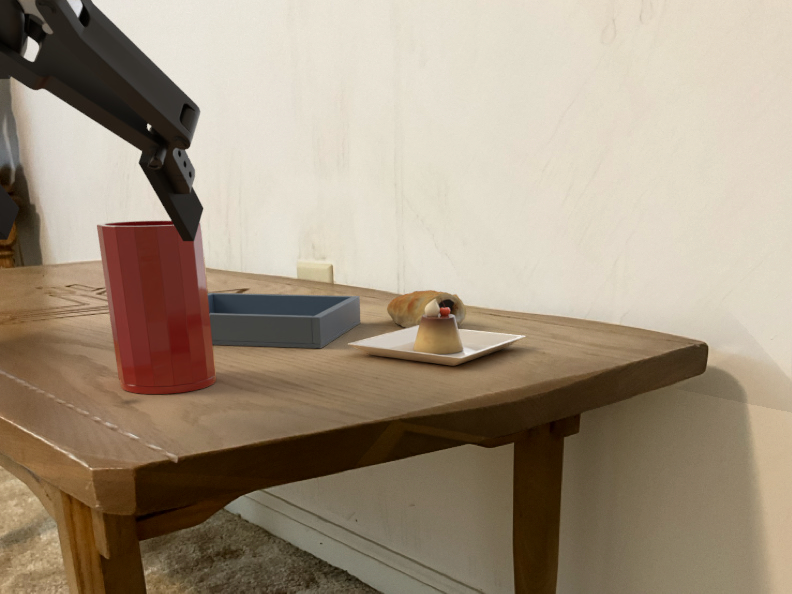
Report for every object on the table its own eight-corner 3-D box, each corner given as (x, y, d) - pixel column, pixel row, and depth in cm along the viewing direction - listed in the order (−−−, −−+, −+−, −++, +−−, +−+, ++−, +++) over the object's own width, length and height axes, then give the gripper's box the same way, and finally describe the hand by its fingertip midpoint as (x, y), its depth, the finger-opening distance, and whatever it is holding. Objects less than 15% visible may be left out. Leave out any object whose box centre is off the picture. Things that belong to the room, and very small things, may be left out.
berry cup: (102, 392, 65) (77, 226, 60) (148, 371, 72) (129, 220, 67) (191, 396, 64) (173, 226, 59) (230, 374, 70) (216, 220, 66)
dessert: (525, 347, 80) (528, 295, 78) (460, 371, 71) (461, 312, 69) (419, 335, 86) (419, 286, 84) (346, 356, 77) (344, 301, 75)
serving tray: (150, 342, 84) (146, 312, 83) (211, 318, 97) (209, 292, 96) (321, 348, 80) (319, 317, 79) (360, 323, 93) (359, 296, 92)
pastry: (372, 321, 94) (371, 286, 92) (420, 316, 98) (420, 281, 96) (423, 333, 87) (424, 295, 86) (473, 327, 91) (474, 290, 89)
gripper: (-405, -46, 38) (-83, 267, 58) (96, -84, 33) (264, 273, 53) (-330, -153, 41) (-46, 181, 60) (144, -203, 36) (287, 179, 55)
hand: (99, 224), depth 56 cm, fingers open, 13 cm apart
